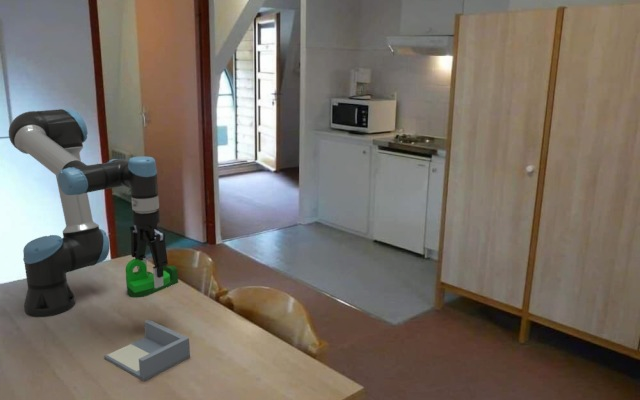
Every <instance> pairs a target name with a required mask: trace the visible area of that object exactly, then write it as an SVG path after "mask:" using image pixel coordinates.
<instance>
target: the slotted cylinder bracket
mask: <svg viewBox="0 0 640 400" xmlns="http://www.w3.org/2000/svg"><path fill="white" fill-rule="evenodd" d="M163 271H166V272H167V273H169V274H170V282H169V283H168V284H166V285H163V286H161V287H158V288H151V289H147V290H144V291H140V292H136V293H135V292H133V291H132V290H131V289H130V288H129V287H127V286H126V293H127V296H128V297H130V298H144V297H148V296H150V295H151V296H152V295H153V294H155V293H158V292H159V291H160V292H161V291H162V290H165V289H166V287H167V288H169V287H172V286H174V285H176V284H178V283H179V274H178V271H179V270H178V268H177V266H175V265H173V264H172V265H165V266H163ZM136 272H137V271H133V273H136ZM149 274H153V273H152V272H150V271H148V270H147V275H149ZM125 281H126V283H125V284H127V280H126V279H125ZM171 285H172V286H171Z"/></svg>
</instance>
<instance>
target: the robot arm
mask: <svg viewBox="0 0 640 400" xmlns="http://www.w3.org/2000/svg"><path fill="white" fill-rule="evenodd" d="M8 138H9V141H10V143H11V145H12V146H13V147H14V148H15V149H17V150H18V151H19V152H21V153H23V154H26V155H30V156H31V157H32V158H33V159H35V160H36V161H37V162H38V163H40V164H41V165H42V166H44V167H45V168H46V169H47V170H48V171H50V172H51V173H53V174H54V176H55V178H56V182H57V187H58V188H57V189H58V193H59V198H60V202H61V208H62V212H63V216H64V223H65V227H64V229H63V230H62V237H61V235H57V234H50V235H44V236H40V237H36V238H34V239H32V240H30V241H29V242H27V243H26V244H25V246H24V247H23V251H22V252H23V259H22V260H23V262H24V263H23V264H24V269H25V276H26V283H27V291H26V294H25V299H24V305H23V306H24V312H25V314H26V315H28V316H31V317H38V318H39V317H41V318H42V317H50V316H54V315H58V314H61V313H65V312H66V311H68V310H70V309H72V308H73V307H74V306H75V304H76V300H75V299H76V298H75V294H74V293H73V291H72V289H71V287H70V285H69V283H68V280H67V278H68V277H67V273H70V272H74V271H77V270H80V269H84V268H87V267H91V266H92V267H93V266H95V265H97V264H100V263H102V262H104V261H105V260H107V258H108V256H109V253H110V240H109V237H108V235H107V232H106V230H103V229H101V228H100V227H99V226H100V225H99V224H98V223H96V222H95V221H94V220H93V214H92V209H91V206H90V199H89V194H88V193H93V192H98V191H103V190H109V189H114V188H118V187H119V188H120V187H126V188H129V189H130V197H131V209H132V223H133V225H132V226H129V231H130V235H131V236H130V237H131V238H130V239H131V241H130V245H131V246H130V251H131V252H130V253H131V255H130V256H131V258H134V259H139V260H141V261H142V262H144V263H145V265H146V270H147V271H148V264H147V256H146V251H147V246H148V247H149V250H150V253H151V254H150V255H151V258H152V262H153V265H154V266H152V269H153V270H152V272H153V273H152V274H154V288H158V287H161V286H163V285H164V284H163V266H165V265H167V266H169V261H168V254H167V247H166V233H165V232H161V231H160V230H159V228H158V224H159V223H160V221H161V217H160V210H159V208H160V199H159V188H158V187H159V185H158V169H157V163H156V160H155V158H154V157H151V156H145V155H143V156H141V155H140V156H132V157H129V159H128V160H126V159H123V158H118V159H117V158H112V159H110V160H108V161H107V162H103V163H96V164H89V165H87V164H86V163H84V162H83V161H81V160H82V159H81V153H80V152H81V151H82V150H83V149H84V145H83V143H84V142H86V141H87V139H88V128H87V124H86V121H85V119H84V117H83V116H82V115H81V114H80V113H79V112H78V111H76V109H75V110H74V109H68V108H65V109H64V108H62V109H61V108H59V109H49V110H37V111H36V110H35V111H34V110H32V111H30V110H29V111H27V112H23V113H21V114H19V115H17V116H16V117H15V118H14V119H13V120H12V122H11V123H10V125H9V129H8ZM136 267H137V272H138V271H139V266H136Z"/></svg>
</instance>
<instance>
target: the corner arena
mask: <svg viewBox="0 0 640 400" xmlns="http://www.w3.org/2000/svg"><path fill="white" fill-rule="evenodd" d="M143 323H144V335H145V337H142V338H140V339H138V340H136V341H134V342H132V343H130V344H128V345H126V346H123V347H120V348H119V349H116V350H114V351H112V352H110V353H108V354H105V355H104V356H103V357H104V360H106V361H108V362H110V363H111V364H113V365H115V366H117V367H118V368H120V369H121V370H124V371H125V372H128V373H129V374H131V375H132V376H135V378H138V379H140V380H142V381H143V382H145V381H147V380H149V379H151V378H152V377H154V376H157V375H159V374H160V373H162V372H164V371H166V370H168V369H170V368H172V367H174V366H177V364H179V363H182V362H183V361H185V360H188V359H189V358H191V350H190V338H189V337H188V336H185V335H183V334H181V333H180V332H179V333H178V332H176V331H175V330H173V329H171V328H168V327H166V326H164V325H162V324H159V323H157V322H155V321H152V320H151V319H147V320H145V321H144V322H143Z"/></svg>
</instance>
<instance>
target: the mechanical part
mask: <svg viewBox="0 0 640 400" xmlns="http://www.w3.org/2000/svg"><path fill="white" fill-rule="evenodd" d="M137 266H139V271H138V270H137V271H135V272H136V273H133V272H134V269H135V268H136V267H137ZM147 271H148V269H147V270H146V265H145V263H144V262H142V261H141V260H139V259H135V258H133V259H131V260H130V261H128V263H127V264H126V267H125V281H126V280H127V283H126V288H127V287H129V288H130V289H131V290H132V291H133V292H135V293H136V292H140V291H144V290H147V289H151V288H154V274H153V273H152V274H149V275H147ZM169 282H170V274H169V273H167V272H166V271H163V284H164V285H166V284H168V283H169Z"/></svg>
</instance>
